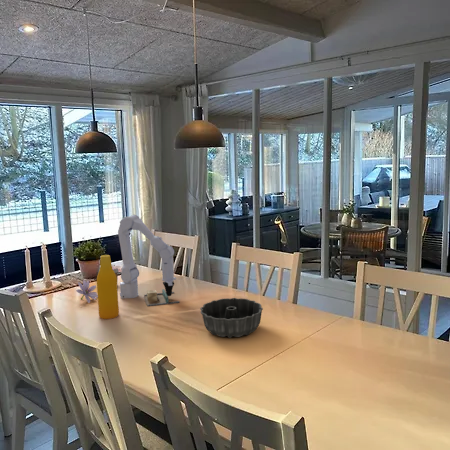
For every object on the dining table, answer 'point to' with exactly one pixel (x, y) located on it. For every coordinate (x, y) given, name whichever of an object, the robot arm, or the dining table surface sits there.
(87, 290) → the water lily
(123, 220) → the robot arm
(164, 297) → the clear flat box
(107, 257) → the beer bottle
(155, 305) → the lane rails
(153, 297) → the maple cube
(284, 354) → the dining table surface
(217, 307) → the bundt pan
